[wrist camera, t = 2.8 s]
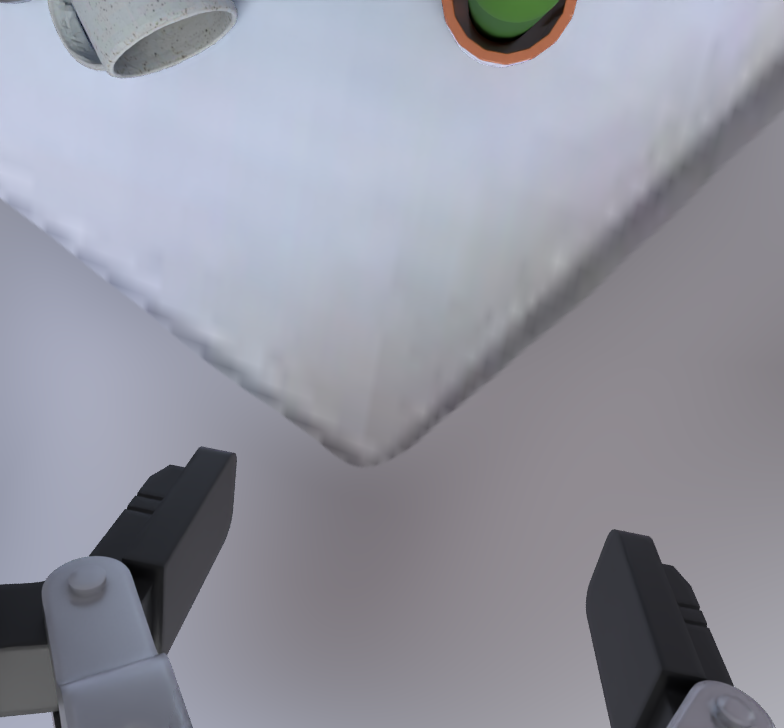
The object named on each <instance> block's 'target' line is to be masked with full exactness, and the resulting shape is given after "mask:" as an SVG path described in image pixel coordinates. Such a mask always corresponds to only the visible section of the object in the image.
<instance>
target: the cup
mask: <svg viewBox="0 0 784 728" xmlns="http://www.w3.org/2000/svg"><path fill="white" fill-rule="evenodd" d="M576 2H577V0H559V1H558V2H557V4H556V5H555V6H554V7H553V8H552V9H551V10H550V11H548V12H547V13H546V14H545V15H544V16H543V17H542V18H541V19H540V20H539V21H538V22H537V23H536V24H535V25H533V26H532V27H531V28H530V29H529V30H528V31H527V32H526V33H525V34H524V35H522V36H521V37H519V38H518V39H515V40H513V41H510V42H505V43H499V42H493V41H490V40H488V39H486V38H484V37H483V36H482V35H480V34H479V33H478V31H477V30H476V29H475V27H474V26H473V24H472V22H471V19H470V15H469V9H468V0H442V6H443V12H444V18H445V21H446V24H447V26H448V29H449V31H450V33H451V34H452V36H453V38H454V39H455V41H456V43H457V44H458V46H459V48H460V49H461V50H462V51H463V52H464V53H465V54H467V55H468V56H469V57H470V58H472V59H474V60H475V61H477V62H478V63H480V64H484V65H488V66H494V67H499V68H501V67H502V68H503V67H507V66H512V65H516V64H520V63H523V62H526V61H528V60H531V59H533V58H535V57H536V56H538V55H539V54H540V53H542V52H543V51H544V50H546V49H547V48H549V47H550V46H551V45H553V44H554V43H555V42H556V41H557V40H558V38H559V37H560V35H561V34H562V32H563V31H564V29H565V28H566V26H567V25H568V23H569V22H570V20H571V19H572V17H573V14H574V10H575V6H576Z"/></svg>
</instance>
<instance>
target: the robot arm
mask: <svg viewBox="0 0 784 728" xmlns="http://www.w3.org/2000/svg"><path fill="white" fill-rule="evenodd" d="M27 1H31V0H0V2H1V3H13V4H15V3H23V2H27ZM236 462H237V457H236V454H235V453H232V452H227V451H222V450H216V449H211V448H206V447H200V448H199V449H198V450H197V451H196V453H195V454H194V455H193V457H192V458H191V460H190V461H189V462H188V464H187V466H186V467H180V466H175V465H169V466H167V467H165V468H164V469H162V470H160V471H159V472H157V473H155V474H154V475H152V476H150V477H149V479H148V480H147V481H146V482H145V484H144V485H143V487H142V488H141V489H140V490H139V492H138V494H137V496H135V497H134V498H133V499H132V501H131V502H130V503H129V505H128V507H127V509H125V510H124V511H123V512H122V514H121V515H120V516H119V518H118V519H117V520H116V522H115V523H114V524H113V525H112V527H111V528H110V529H109V531H108V532H107V533H106V535H105V536H104V537H103V538H102V540H101V541H100V542H99V544H98V545H97V546H96V548H95V549H94V550H93V551H92V553H91V554H90V555H89V557H84V558H79V559H75V560H72V561H70V562H68V563H66V564H64V565H62V566H60V567H59V568H57V569H56V570H54V571H53V572H52V573H51V574H50V575H49V576H48V578H47V579H46V580H45V581H43V582H36V583H24V584H3V585H0V717H6V716H16V715H26V714H36V713H46V712H51V714H52V720H53V726H54V728H193V727H192V724H191V721H190V718H189V715H188V712H187V710H186V706H185V703H184V701H183V698H182V695H181V692H180V689H179V686H178V683H177V680H176V678H175V675H174V672H173V669H172V666H171V663H170V661H169V658H168V657H167V654H168V652H169V650H170V648H171V646H172V644H173V642H174V640H175V638H176V636H177V634H178V632H179V630H180V628H181V626H182V624H183V622H184V620H185V618H186V616H187V614H188V612H189V611H190V609H191V607H192V605H193V603H194V601H195V599H196V597H197V595H198V593H199V591H200V589H201V587H202V585H203V583H204V581H205V579H206V577H207V575H208V573H209V571H210V569H211V567H212V565H213V563H214V561H215V559H216V557H217V555H218V553H219V551H220V550H221V548H222V545H223V544H224V541H225V539H226V537H227V534H228V531H229V528H230V524H231V520H232V514H233V503H234V490H235V477H236ZM699 608H700V606H699V604H698V601H697V599H696V597H695V594H694V592H693V590H692V588H691V586H690V584H689V583H688V582H687V581H686V580H685V579H684V578H683V577H682V576H681V574H680V573H679V572H678V571H677V570H676V569H675V568H674V567H673V566H671V565H666V564H662V563H661V560H660V558H659V555H658V553H657V550H656V547H655V545H654V543H653V540H652V539H651V538H650V537H649V536H645V535H639V534H634V533H629V532H625V531H619V530H615V529H614V530H612V531H611V532H610V533H609V535H608V537H607V539H606V541H605V544H604V547H603V549H602V552H601V555H600V557H599V560H598V563H597V565H596V568H595V570H594V573H593V576H592V578H591V581H590V584H589V587H588V591H587V597H586V614H587V619H588V623H589V628H590V633H591V637H592V642H593V647H594V651H595V656H596V660H597V665H598V670H599V674H600V679H601V683H602V688H603V693H604V697H605V702H606V706H607V711H608V716H609V720H610V725H611V728H775V725H774V723H773V722H772V720H771V718H770V717H769V715H768V714H767V713H766V712H765V710H764V709H763V708H762V707H761V706H760V705H759V704H758V703H757V702H756V701H755V700H754V699H752V698H751V697H750V696H748V695H747V694H746V693H744V692H743V691H741V690H739V689H737V688H735V687H734V685H733V683H732V680H731V678H730V676H729V673H728V671H727V669H726V666H725V664H724V662H723V660H722V657H721V655H720V653H719V650H718V648H717V646H716V643H715V641H714V639H713V636H712V634H711V632H710V629H709V628H707V623H706V620H705V618H704V616H703V613H702V611H700V610H699Z"/></svg>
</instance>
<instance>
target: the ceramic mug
mask: <svg viewBox="0 0 784 728" xmlns="http://www.w3.org/2000/svg"><path fill="white" fill-rule="evenodd" d="M72 4H73V6H74V8H75V10H76V12H77V15H78V17H79V19H80V21H81V23H82V25H83V27H84V29H85V31H86V33H87V35H88V37H89V39H90V41H91V43H92V45H93V47H94V49H95V50H94V49H93V48H92V47H91V45H90V43H89V42H88V40H87V38H86V36H85V34H84V32H83V29H82V27H81V25H80V23H79V21H78V19H77V17H76V13H75V10H74V8H73V6H72ZM48 6H49V10H50V14H51V17H52V20H53V23H54V26H55V28H56V31H57V33H58V35H59V37H60V39H61V41H62V43H63V44H64V46H65V48H66V49H67V50H68V52H69V53H70V54H71V55H72V57H73V58H74V59H75V60H76V61H77V62H79V63H80V64H82V65H84V66H85V67H87V68H90V69H94V70H96V71H107V72H108V74H109V75H110V76H113V77H117V78H132V77H138V76H144V75H147V74H151V73H154V72H158V71H161V70H163V69H166V68H169V67H172V66H174V65H177V64H179V63H181V62H183V61H184V60H186V59H188V58H190V57H193V56H195V55H197V54H199V53H201V52H202V51H204V50H205V49H207V48H209V47H210V46H212V45H214V44H215V43H216V42H217V41H219V40H220V39H222V38H223V37H224V36H225V35H226V34H227V33H228V32H229V31H230V30H231V29H232V27H233V26H234V25H235V23H236V21H237V16H238V15H237V9H236V7H235V5H234V3H233V1H232V0H48Z"/></svg>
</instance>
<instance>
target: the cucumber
mask: <svg viewBox="0 0 784 728" xmlns="http://www.w3.org/2000/svg"><path fill="white" fill-rule="evenodd" d="M558 1H559V0H468V9H469V15H470V19H471V22H472V24H473V26H474V27H475V29H476V30H477V31H478V33H479V34H480V35H482V36H483V37H484V38H486V39H488V40H490V41H493V42H499V43H505V42H510V41H513V40H515V39H518V38H519V37H521V36H522V35H524V34H525V33H526V32H527V31H528V30H529V29H530V28H531V27H532V26H533V25H535V24H536V23H537V22H538V21H539V20H540V19H541V18H542V17H543V16H544V15H545V14H546V13H547V12H548V11H550V10H551V9H552V8H553V7H554V6H555V5H556V4H557V2H558Z"/></svg>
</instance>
